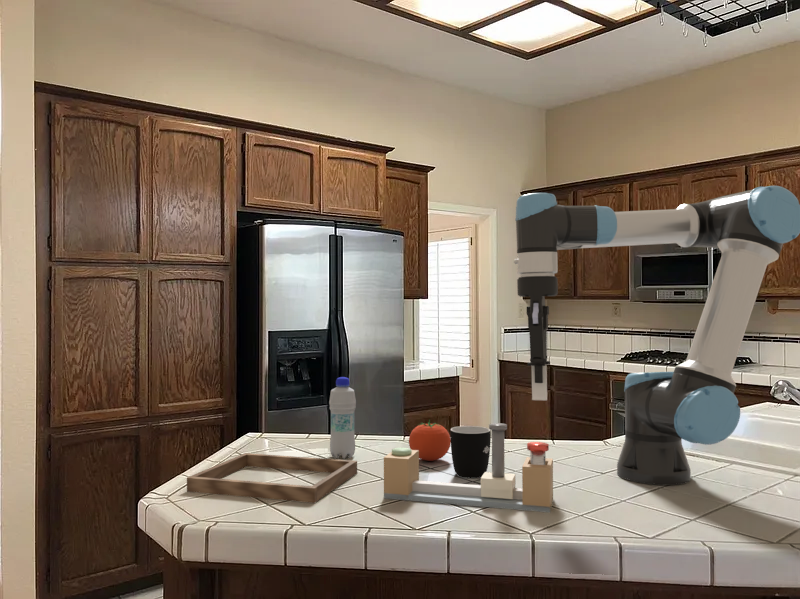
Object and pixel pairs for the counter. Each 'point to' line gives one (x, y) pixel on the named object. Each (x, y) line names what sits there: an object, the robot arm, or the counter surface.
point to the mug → (470, 450)
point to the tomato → (430, 441)
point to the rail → (465, 485)
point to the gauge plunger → (537, 452)
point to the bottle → (342, 419)
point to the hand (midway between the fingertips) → (539, 399)
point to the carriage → (497, 468)
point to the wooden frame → (215, 485)
